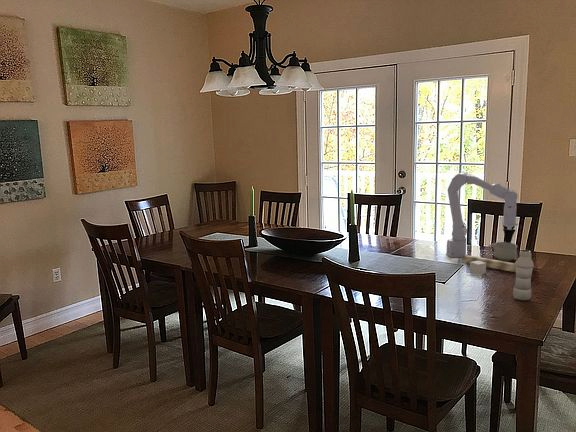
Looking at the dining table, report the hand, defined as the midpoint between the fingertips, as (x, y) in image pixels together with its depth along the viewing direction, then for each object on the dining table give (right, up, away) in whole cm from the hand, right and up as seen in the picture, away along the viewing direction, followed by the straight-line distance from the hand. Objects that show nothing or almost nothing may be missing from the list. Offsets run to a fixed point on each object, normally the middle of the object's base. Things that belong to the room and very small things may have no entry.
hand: (508, 240), depth 242 cm
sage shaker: (+4, -12, -10) cm, 16 cm away
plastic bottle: (-18, -21, -52) cm, 59 cm away
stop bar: (-13, -12, -7) cm, 19 cm away
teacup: (-1, -10, +5) cm, 11 cm away
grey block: (-22, -14, -16) cm, 31 cm away
